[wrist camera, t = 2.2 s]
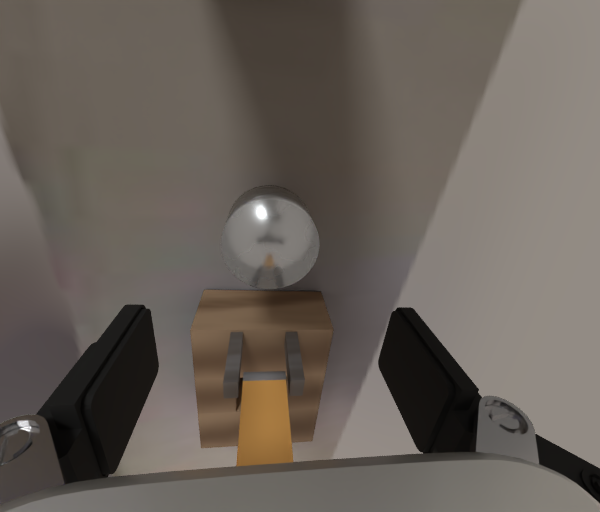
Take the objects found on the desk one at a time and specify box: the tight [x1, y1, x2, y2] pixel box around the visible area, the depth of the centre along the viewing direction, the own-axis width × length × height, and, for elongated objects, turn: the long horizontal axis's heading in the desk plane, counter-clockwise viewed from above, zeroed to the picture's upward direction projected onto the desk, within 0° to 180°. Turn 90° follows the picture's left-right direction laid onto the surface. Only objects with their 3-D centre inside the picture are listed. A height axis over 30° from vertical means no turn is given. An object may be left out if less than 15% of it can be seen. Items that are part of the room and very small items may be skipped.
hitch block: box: [190, 290, 333, 448], centre depth 28 cm, size 16×12×11 cm
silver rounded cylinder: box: [221, 186, 320, 289], centre depth 21 cm, size 6×6×9 cm
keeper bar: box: [236, 371, 293, 466], centre depth 17 cm, size 9×3×1 cm
